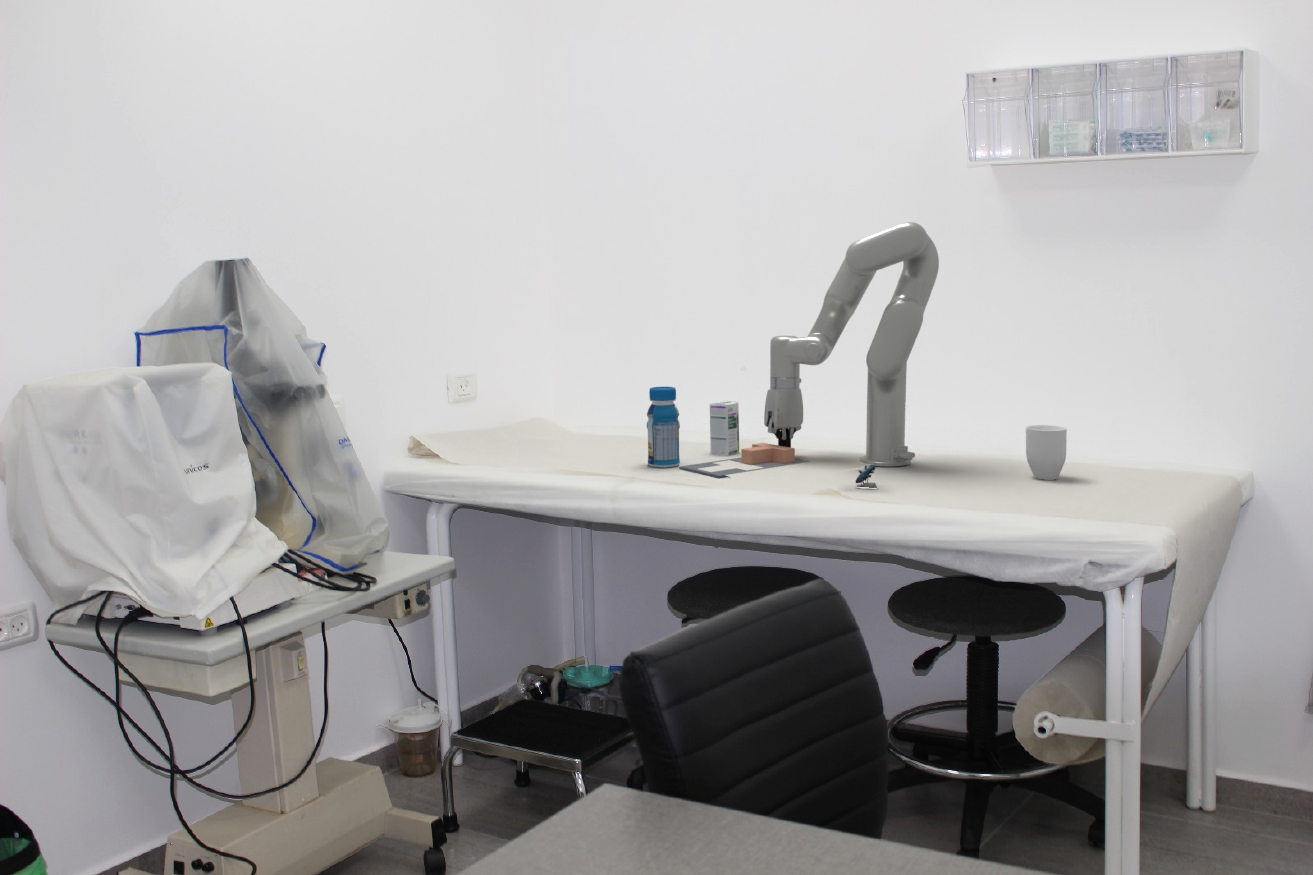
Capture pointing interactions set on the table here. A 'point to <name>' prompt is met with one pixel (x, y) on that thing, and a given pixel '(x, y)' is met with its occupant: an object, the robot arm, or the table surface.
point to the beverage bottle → (663, 428)
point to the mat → (732, 471)
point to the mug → (1046, 450)
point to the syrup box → (724, 428)
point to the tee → (767, 454)
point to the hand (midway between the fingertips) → (784, 453)
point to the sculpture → (866, 477)
